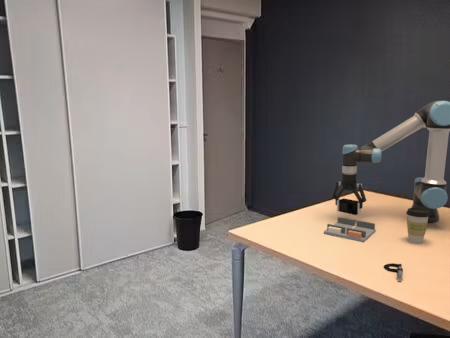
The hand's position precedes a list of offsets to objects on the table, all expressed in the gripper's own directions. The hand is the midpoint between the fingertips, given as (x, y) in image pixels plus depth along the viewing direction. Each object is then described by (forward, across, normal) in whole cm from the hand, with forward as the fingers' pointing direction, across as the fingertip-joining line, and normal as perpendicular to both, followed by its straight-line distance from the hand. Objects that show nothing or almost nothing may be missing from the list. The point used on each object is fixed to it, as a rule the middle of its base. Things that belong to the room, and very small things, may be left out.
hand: (348, 212), depth 212 cm
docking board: (+5, +7, -18) cm, 20 cm away
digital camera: (+1, 0, 0) cm, 1 cm away
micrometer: (+6, +37, -52) cm, 64 cm away
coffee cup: (+6, +36, -11) cm, 39 cm away
